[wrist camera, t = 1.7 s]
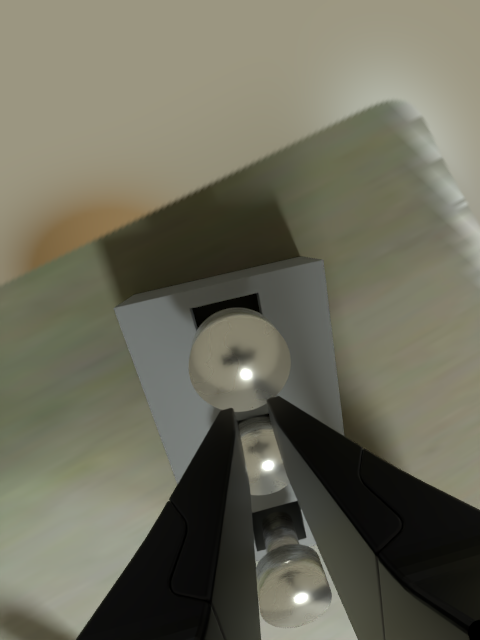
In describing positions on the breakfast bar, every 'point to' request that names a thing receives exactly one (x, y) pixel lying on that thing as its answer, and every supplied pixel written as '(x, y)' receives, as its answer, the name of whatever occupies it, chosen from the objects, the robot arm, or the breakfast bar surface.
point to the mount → (175, 346)
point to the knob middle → (262, 456)
